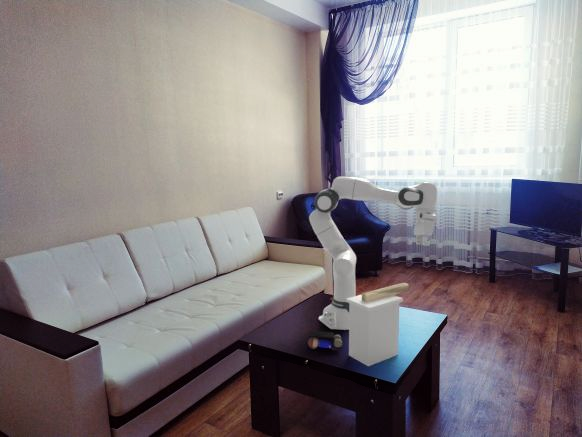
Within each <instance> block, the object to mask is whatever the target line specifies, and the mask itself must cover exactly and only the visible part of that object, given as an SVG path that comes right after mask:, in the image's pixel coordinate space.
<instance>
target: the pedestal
mask: <svg viewBox="0 0 582 437" xmlns="http://www.w3.org/2000/svg"><path fill="white" fill-rule="evenodd" d="M346 302H348V303H349V330H348V334H349V335H348V356H349V357H351V358H352V359H354V360H356V361H358V362H360V363H362V364H363V365H365V366H367V367H370V366H374V365H375V364H379V363H381V362H383V361H386V360H388V359H390V358H393V357H396V356H398V355H399V334H400V333H399V329H400V328H399V327H400V303H403V302H404V298H403V297H400V296H398V295H396V294H395V295H391V296H387V297H384V298H380V299H376V300H373V301H369V302H365V301H363V300H362V294H358V295H355V296H354V297H350V298H346Z"/></svg>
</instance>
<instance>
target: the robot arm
mask: <svg viewBox="0 0 582 437" xmlns="http://www.w3.org/2000/svg"><path fill="white" fill-rule="evenodd" d="M342 199H346V200H347V199H348V200H354V201H379V202H384V203H388V204H389V203H391V204H393V205H396V206H398V207H399V208H400V209H403V210H411V209H413V208H414V207H415V214H414V219H415V222H414V228H413V235H414V236H415V239H416V242H415V243H416V245H417V246H418V245H419V246H420V245H422V246H427V241H428V239H429V236H432V235H433V233H434V230H435V229H434V228H435V223H436V221H437V217H438V216H437V215H436V203H437V200H438V188H437V186H436V185H435V184H434V183H432V182H429V181H421V182H419V183H418V184H417V183H416V184H415V185H414V184H413V185H412V186H406V187H405V186H404V187H403V188H401V189H400V190H396V191H395V190H392V189H384V188H381V187H378V186H377V185H375V184H374V183H373V182H372V181H370V180H367V179H365V178H362V177H357V176H356V177H355V176H337V177H335V178H334V179H333V181H332V184H331V187H330V188H325V189H322V190H321V191H320V192H318V193H317V194H316V196H315V198H314V206H315V209H314V210H313V211H312V212H311V213H310V215H309V216H308V220H309V223H310V225H311V227H312V230H313V232H314V234H315V235H316V236H317V237H316V238H317V239H318V241H319V242H320V243H321V244H320V245H321V246H322V247H323V249H324V250H326V251H327V253H328V254H329V256H331V258H332V260H333V262H332V273H333V274H332V276H333V277H332V278H333V296H332V297H331V298H330V301H331V303H330V304H329V305H327V306H326V307H324V309H323V311H322V315H319V317H318V320H319V321H320V322H321V323H322V324H323V325H325V326H326V327H328V328H329V329H330V330H341V331H342V330H344V331H346V330H348V331H349V303H348V302H346V298H350V297H354V296H356V294H357V293H356V283H357V282H356V264H357V255H356V253H355V251H354V250H353V249H352V247H351V246H350V244H348V242H347V241H346V239H344V237H343V235H342V234H341V232H340V230H339V229H338V226H337V225H336V223H335V222H334V220H333V219H332V216H331V212H332V211H334V209H336V208H337V206H338V204H339V200H342ZM421 238H422V240H421Z"/></svg>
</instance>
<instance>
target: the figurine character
mask: <svg viewBox="0 0 582 437" xmlns="http://www.w3.org/2000/svg"><path fill="white" fill-rule="evenodd" d="M308 337H309V339H308V340H307V344H308V347H309V348H310V349H317V348H318V347H319V348H323V349H330V350H334V351H336V350H338V349H337V348H340V347H342V345H343V340H342V336H341V335H340V334H335V332H334V331H323V330H322V331H321V330H309V332H308ZM318 338H320V339H318ZM324 339H332V341H331V340H324Z"/></svg>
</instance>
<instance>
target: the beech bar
mask: <svg viewBox="0 0 582 437" xmlns="http://www.w3.org/2000/svg"><path fill="white" fill-rule="evenodd" d="M409 286H410V284H409V283H406V282H401V283H398V284H397V283H396V284H393V285H389V286H385V287H382V288H378V289H374V290H370V291H366V292H362V293H361V295H362V300H363V301H365V302H369V301H373V300H376V299H380V298H384V297H387V296H391V295H395V296H396V295H397V294H401V293H405V292H409V289H410V288H409Z"/></svg>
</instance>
